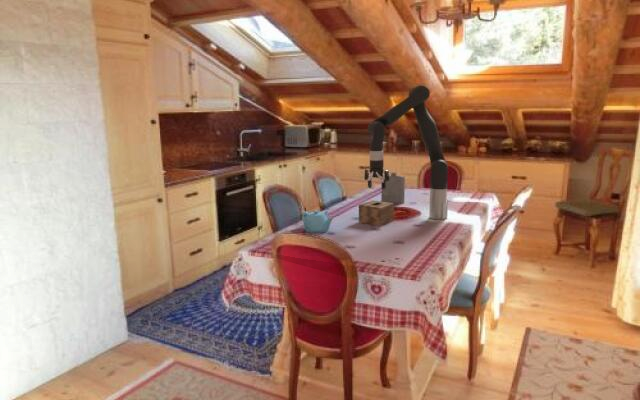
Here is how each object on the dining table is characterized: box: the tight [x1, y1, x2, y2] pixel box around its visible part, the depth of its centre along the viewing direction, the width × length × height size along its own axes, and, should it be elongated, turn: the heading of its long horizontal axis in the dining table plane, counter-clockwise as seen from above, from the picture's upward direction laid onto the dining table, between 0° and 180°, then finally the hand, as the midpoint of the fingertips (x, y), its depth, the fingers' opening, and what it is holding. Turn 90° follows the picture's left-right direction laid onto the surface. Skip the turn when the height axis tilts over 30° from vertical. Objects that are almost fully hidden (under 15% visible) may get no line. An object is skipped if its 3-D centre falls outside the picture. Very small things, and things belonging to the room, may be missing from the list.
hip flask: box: [380, 171, 406, 205], centre depth 314 cm, size 16×4×20 cm, turn 60°
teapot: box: [301, 209, 333, 234], centre depth 252 cm, size 15×15×11 cm
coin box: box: [358, 199, 395, 227], centre depth 267 cm, size 14×14×10 cm
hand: (376, 188), depth 263 cm, fingers open, 8 cm apart
